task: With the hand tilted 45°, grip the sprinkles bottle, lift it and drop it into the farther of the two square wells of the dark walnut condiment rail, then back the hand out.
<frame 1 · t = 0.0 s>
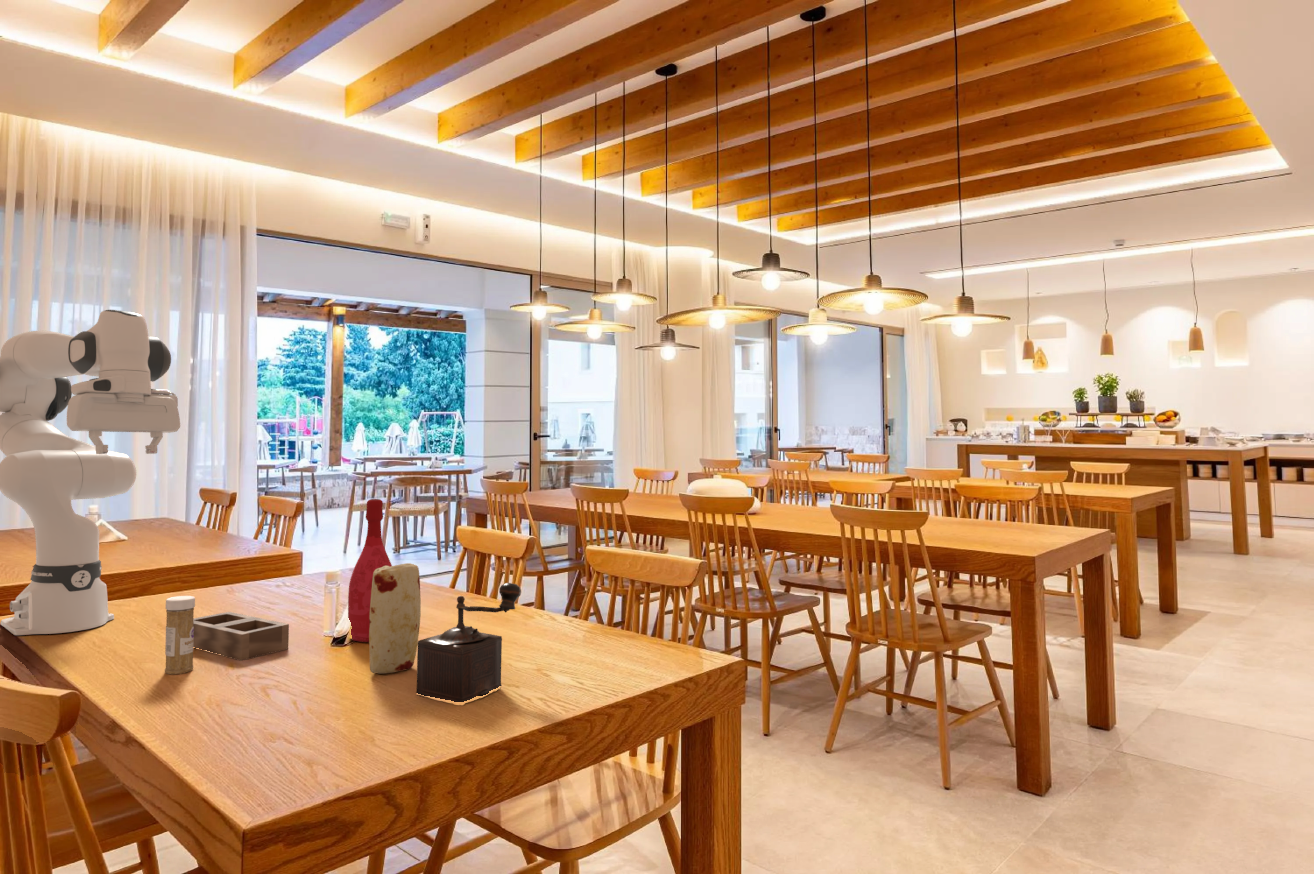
hand: (127, 453, 159), 39 cm above the table, tool pointing down, fingers open, 8 cm apart
sprinkles bottle: (178, 672, 141), on the table
coffee grinder: (470, 690, 135), on the table
condiment rail: (234, 646, 157), on the table
food model: (393, 671, 144), on the table
wine bottle: (371, 638, 167), on the table
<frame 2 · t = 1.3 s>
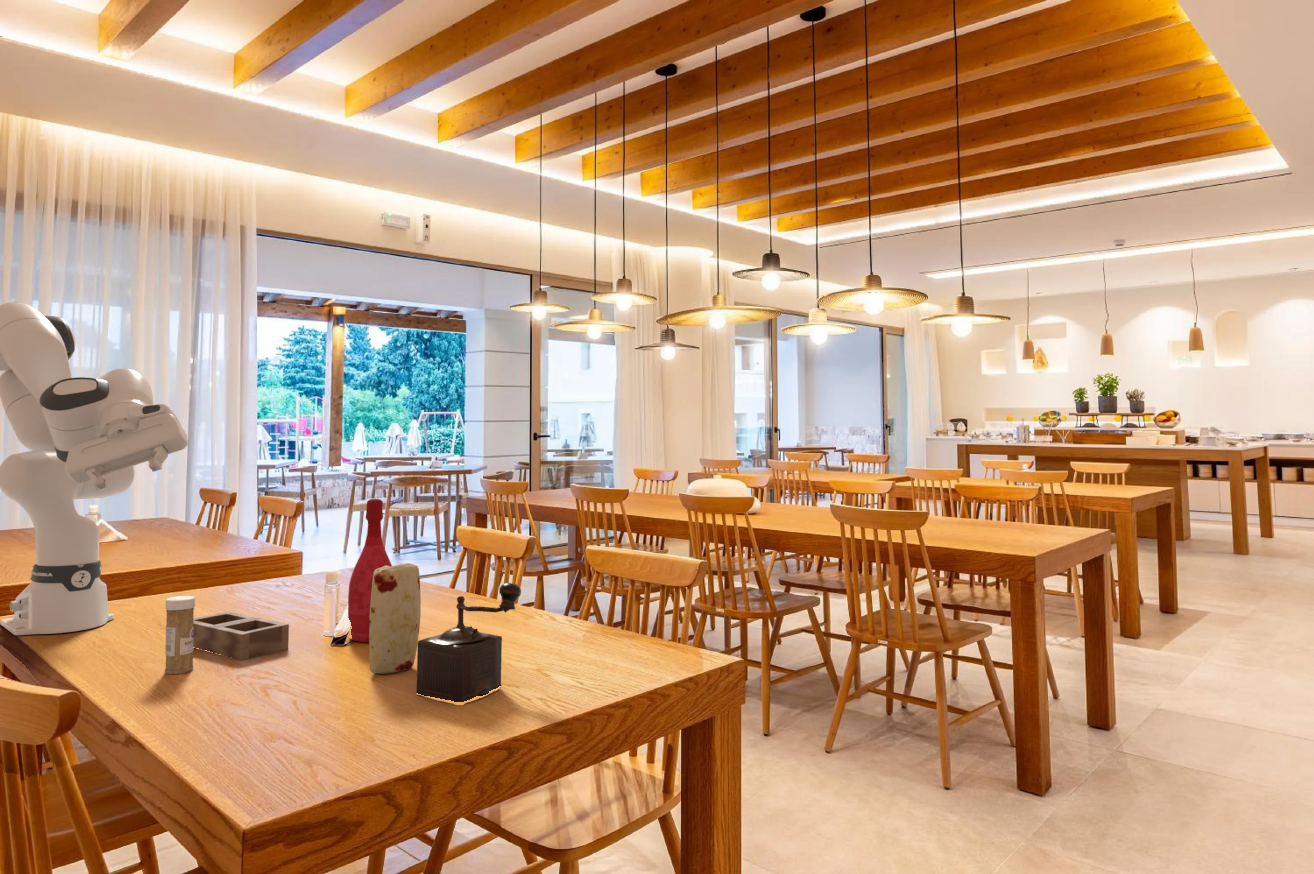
hand: (127, 477, 142), 35 cm above the table, tool tilted 50°, fingers open, 8 cm apart
nothing on the table moved.
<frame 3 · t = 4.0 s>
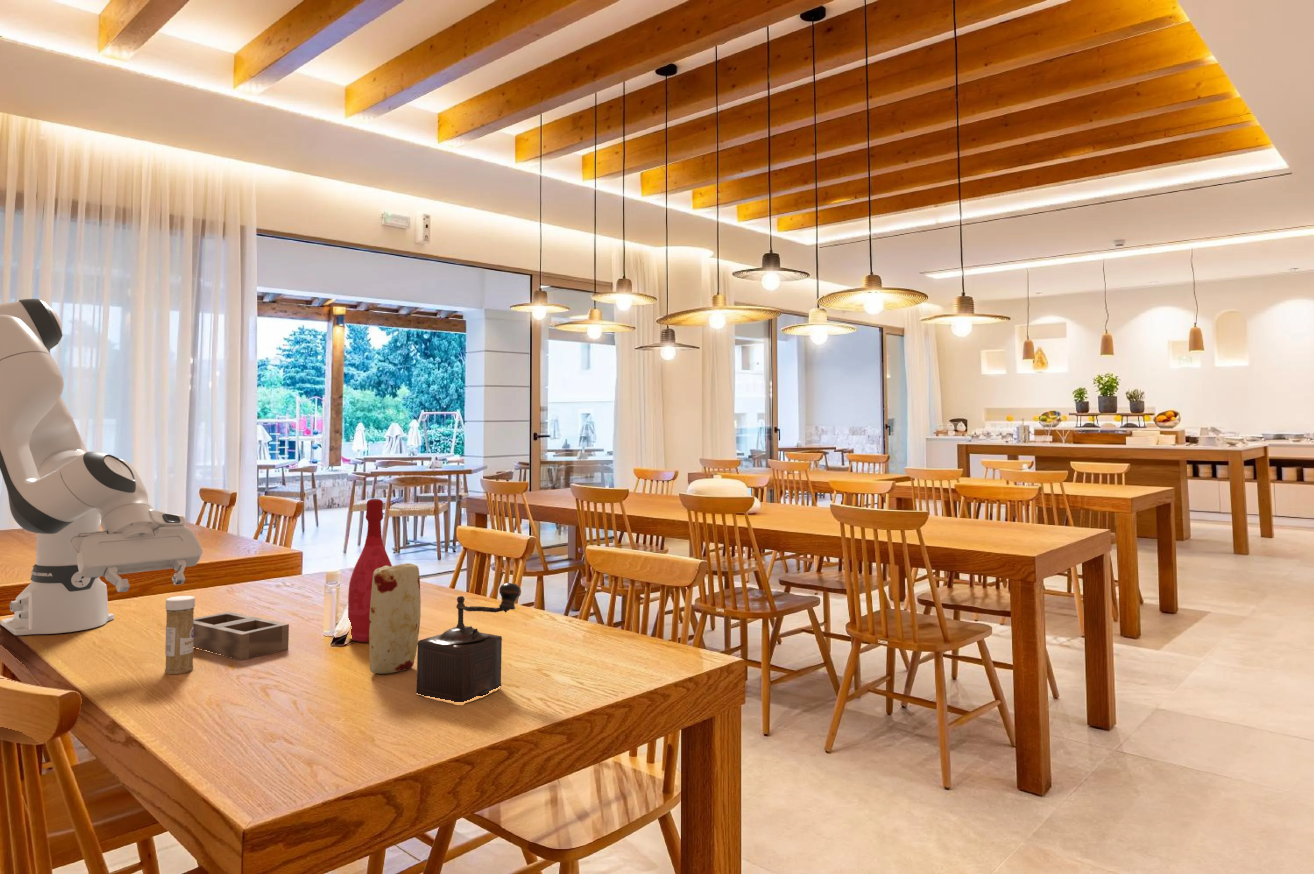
hand: (152, 586, 145), 15 cm above the table, tool tilted 45°, fingers open, 8 cm apart
nothing on the table moved.
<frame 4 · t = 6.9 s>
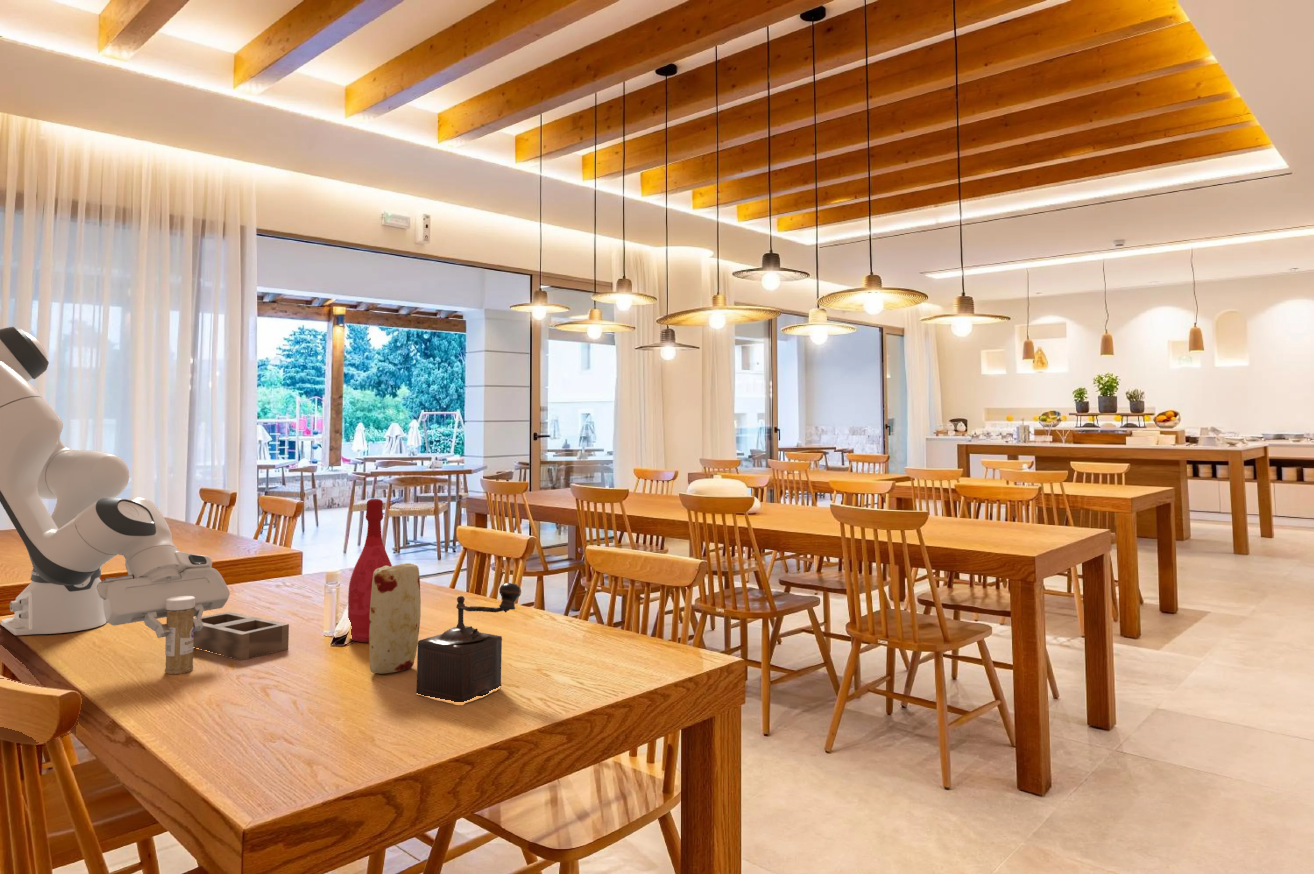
hand: (181, 632, 141), 7 cm above the table, tool tilted 45°, fingers closed on sprinkles bottle, 4 cm apart
sprinkles bottle: (178, 672, 141), on the table, touching gripper
everything else where it was.
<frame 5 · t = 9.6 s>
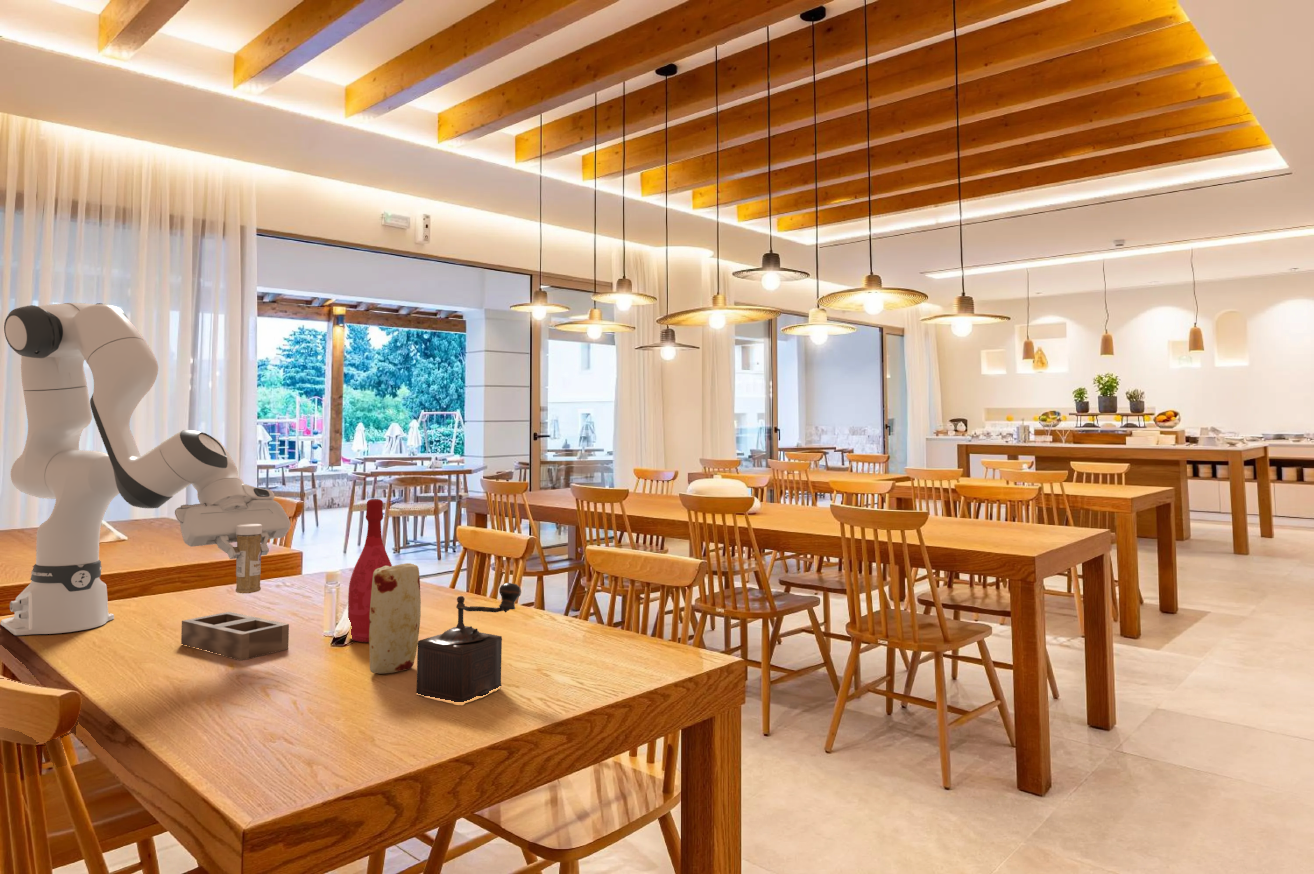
hand: (250, 555, 154), 19 cm above the table, tool tilted 45°, fingers closed on sprinkles bottle, 4 cm apart
sprinkles bottle: (247, 592, 154), point 12 cm above the table, touching gripper
everything else where it was.
when the fingers open (9 cm above the table, at t = 12.6 s): sprinkles bottle drops 1 cm, resting in condiment rail.
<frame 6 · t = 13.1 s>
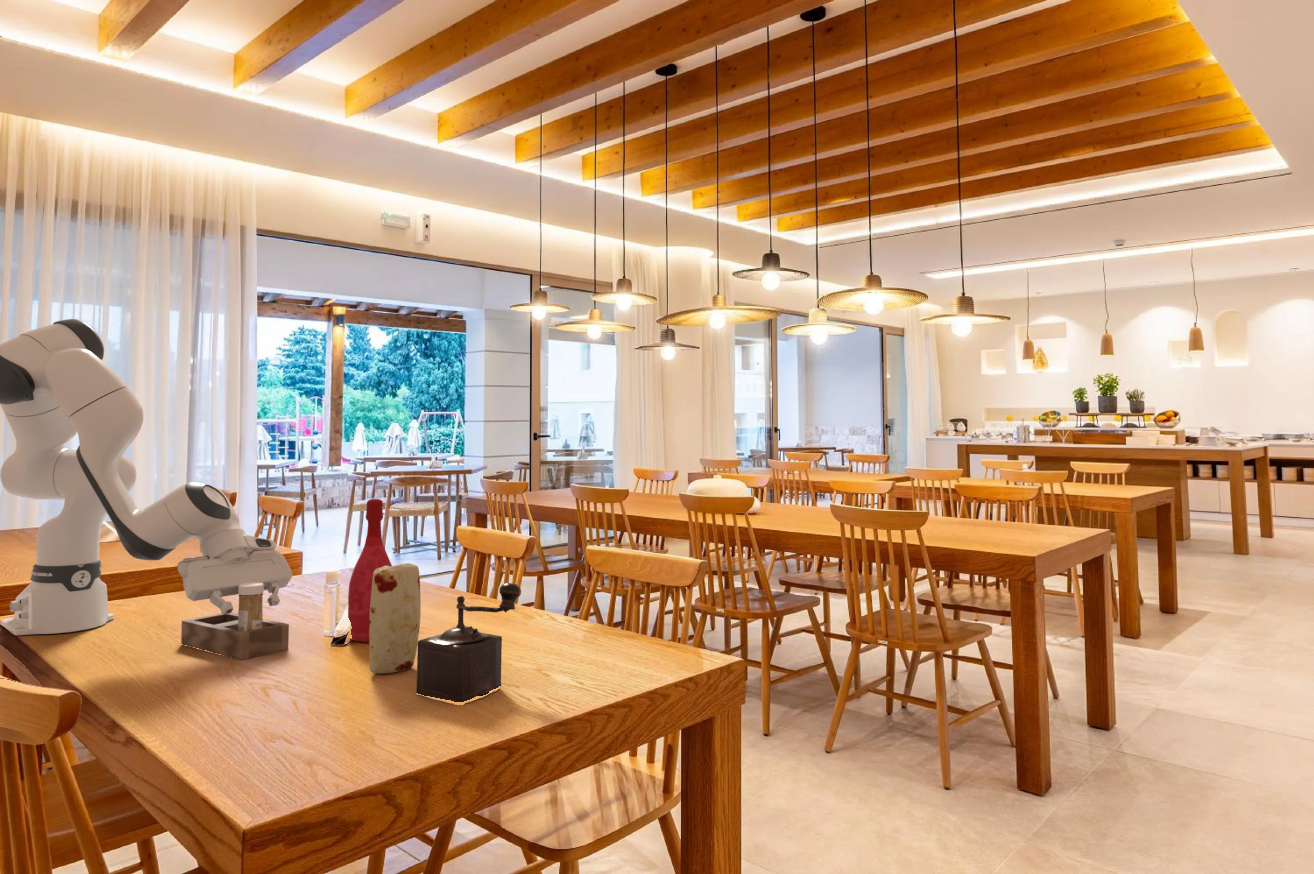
hand: (252, 607, 155), 9 cm above the table, tool tilted 45°, fingers open, 8 cm apart
sprinkles bottle: (249, 651, 155), resting in condiment rail
everything else where it was.
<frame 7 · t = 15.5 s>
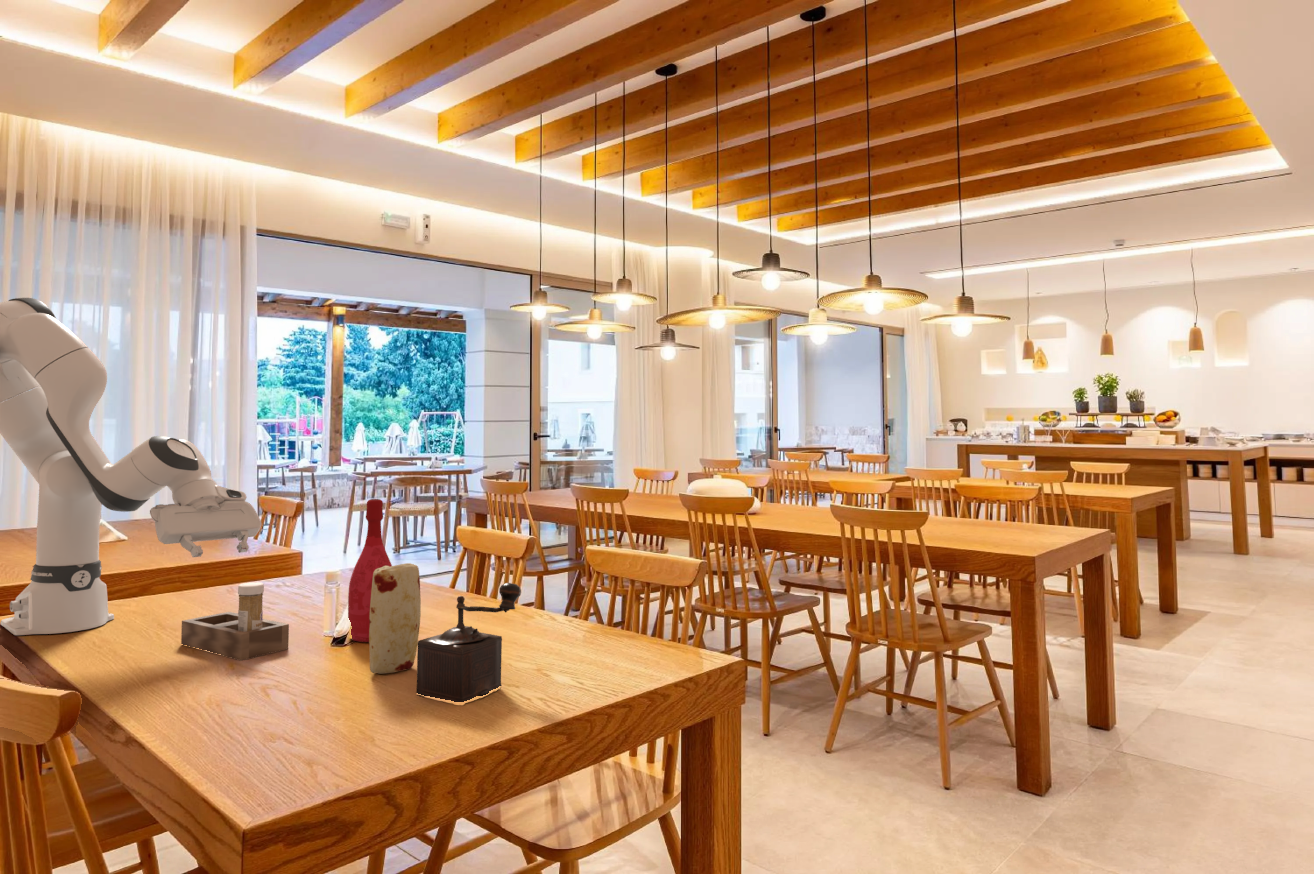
hand: (221, 552, 162), 18 cm above the table, tool tilted 45°, fingers open, 8 cm apart
nothing on the table moved.
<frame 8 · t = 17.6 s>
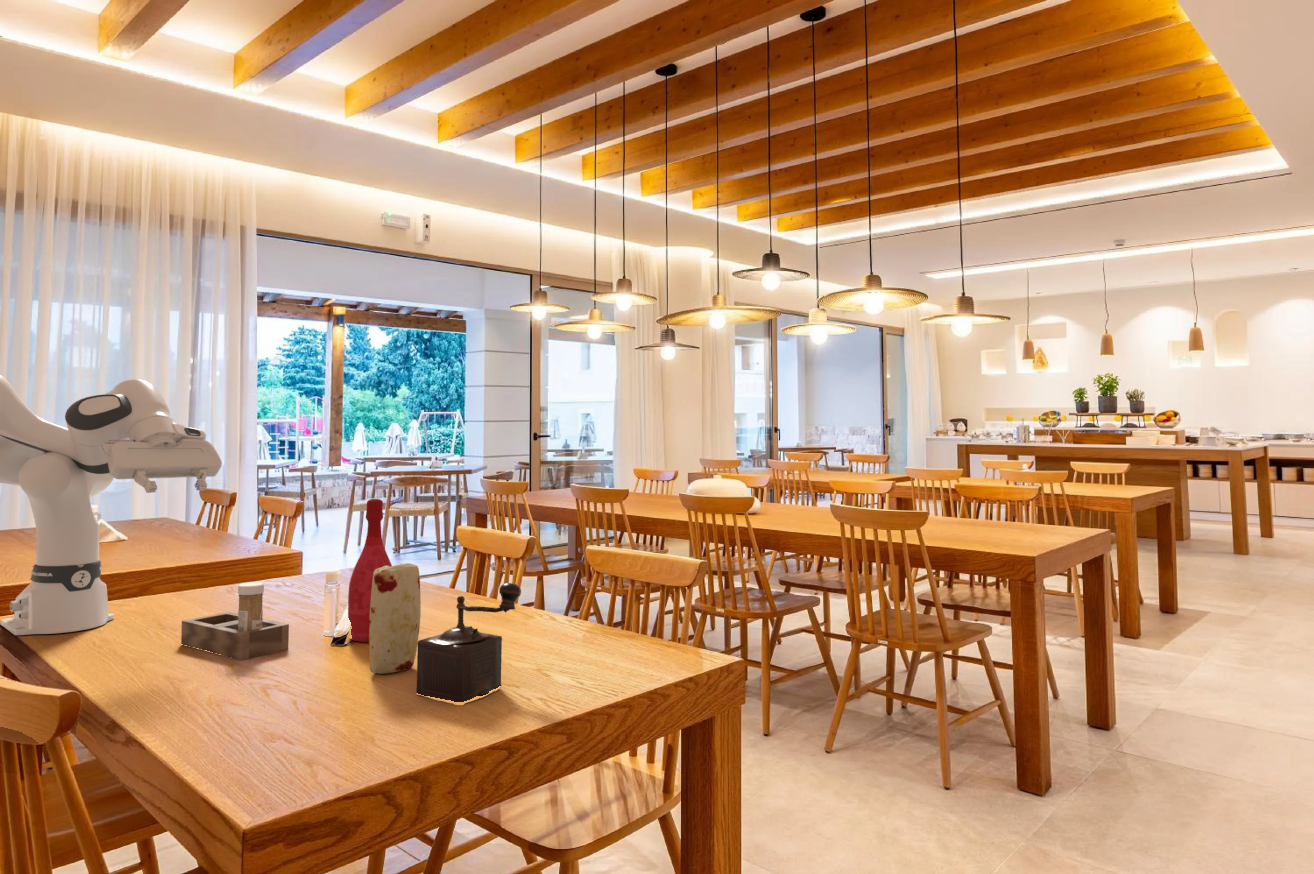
hand: (177, 489, 157), 32 cm above the table, tool tilted 45°, fingers open, 8 cm apart
nothing on the table moved.
at the end: sprinkles bottle 0.0 cm from the target spot on the condiment rail, point 0.0 cm above the condiment rail's base; sprinkles bottle tilted 0°; the gripper is holding nothing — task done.
